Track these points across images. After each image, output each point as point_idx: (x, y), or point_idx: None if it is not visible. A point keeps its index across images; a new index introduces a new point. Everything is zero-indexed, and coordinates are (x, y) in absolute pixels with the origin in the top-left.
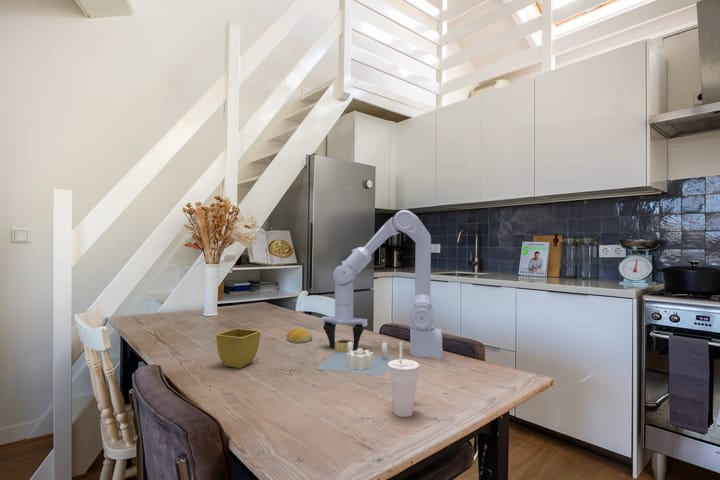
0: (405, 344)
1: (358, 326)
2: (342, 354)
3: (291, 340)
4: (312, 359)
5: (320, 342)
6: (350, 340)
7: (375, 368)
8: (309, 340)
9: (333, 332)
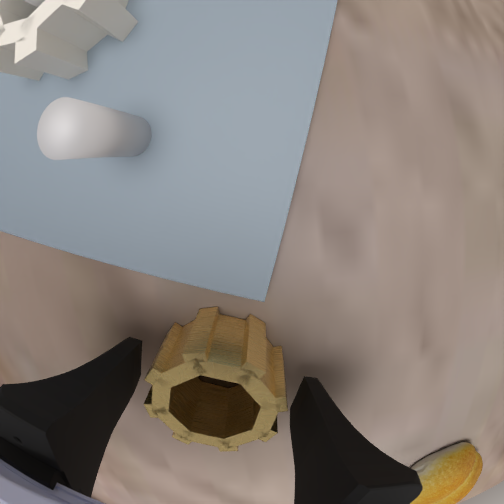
0: None
1: (25, 454)
2: (205, 235)
3: (473, 446)
4: (420, 200)
5: None
6: (171, 428)
7: None
8: None
9: (306, 479)
